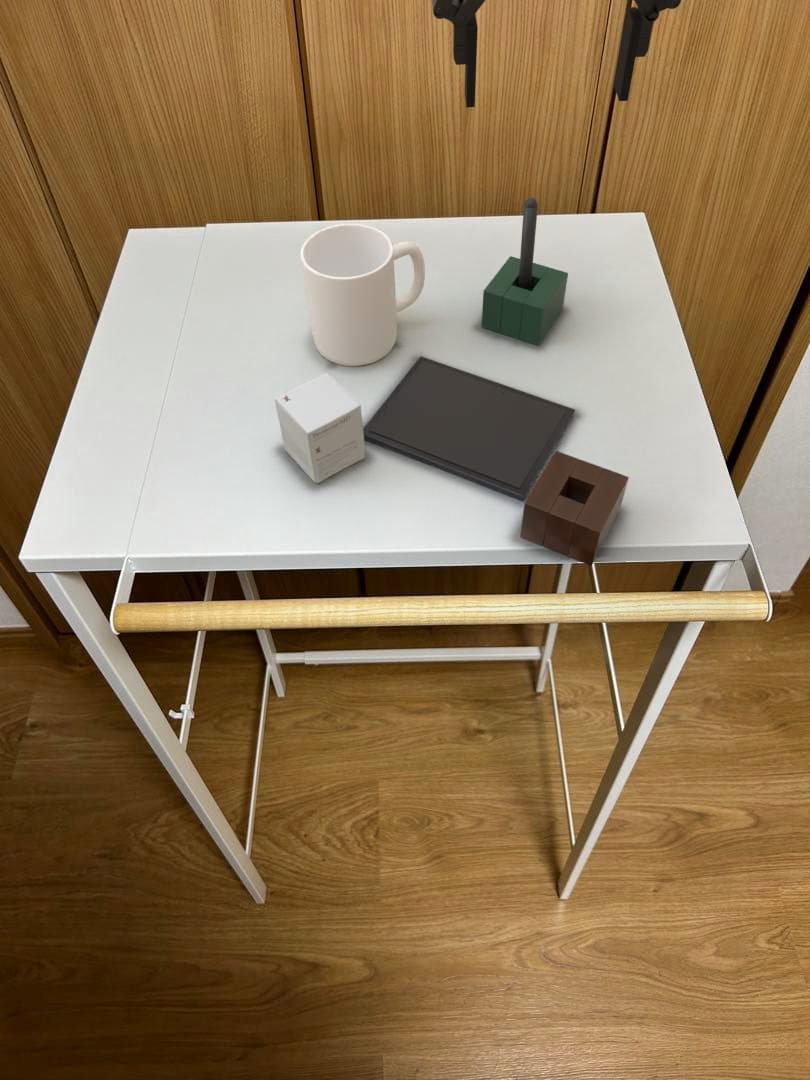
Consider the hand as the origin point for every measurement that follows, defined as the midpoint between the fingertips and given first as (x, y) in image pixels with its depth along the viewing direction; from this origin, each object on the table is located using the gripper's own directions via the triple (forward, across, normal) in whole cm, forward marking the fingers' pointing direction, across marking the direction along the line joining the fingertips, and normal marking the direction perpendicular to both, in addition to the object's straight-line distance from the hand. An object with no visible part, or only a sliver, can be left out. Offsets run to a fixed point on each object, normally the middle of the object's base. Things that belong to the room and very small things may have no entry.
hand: (545, 97), depth 75 cm
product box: (+25, +22, +20) cm, 39 cm away
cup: (+25, +17, +2) cm, 30 cm away
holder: (+25, -1, +30) cm, 39 cm away
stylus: (+25, 0, 0) cm, 25 cm away
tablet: (+25, +7, +17) cm, 31 cm away
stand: (+25, 0, 0) cm, 25 cm away
